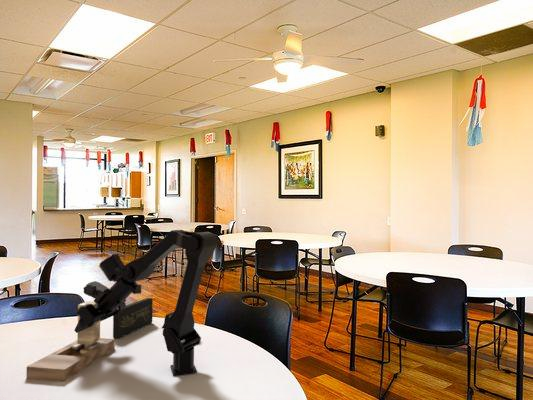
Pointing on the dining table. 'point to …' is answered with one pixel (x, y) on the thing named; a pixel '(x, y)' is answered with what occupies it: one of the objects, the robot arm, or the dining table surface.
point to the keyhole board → (68, 361)
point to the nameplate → (133, 318)
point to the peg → (88, 332)
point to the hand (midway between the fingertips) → (85, 327)
